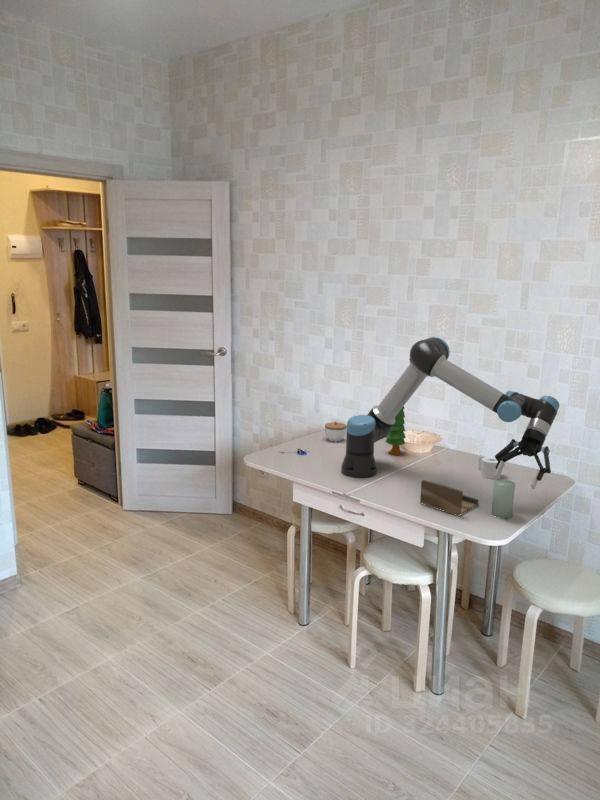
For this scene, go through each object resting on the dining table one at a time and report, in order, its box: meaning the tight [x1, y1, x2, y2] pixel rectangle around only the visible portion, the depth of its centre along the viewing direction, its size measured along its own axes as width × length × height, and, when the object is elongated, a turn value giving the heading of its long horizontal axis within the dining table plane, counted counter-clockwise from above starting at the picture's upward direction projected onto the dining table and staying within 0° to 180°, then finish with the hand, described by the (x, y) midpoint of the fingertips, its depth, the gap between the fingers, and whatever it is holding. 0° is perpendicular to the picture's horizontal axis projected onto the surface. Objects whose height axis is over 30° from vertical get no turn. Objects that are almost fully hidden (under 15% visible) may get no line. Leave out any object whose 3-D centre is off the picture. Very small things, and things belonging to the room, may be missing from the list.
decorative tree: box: [384, 405, 406, 456], centre depth 284 cm, size 10×9×30 cm
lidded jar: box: [324, 421, 347, 443], centre depth 305 cm, size 11×11×9 cm
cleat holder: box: [419, 479, 480, 516], centre depth 224 cm, size 14×16×9 cm
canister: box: [490, 478, 516, 519], centre depth 216 cm, size 7×7×12 cm
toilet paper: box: [477, 456, 502, 480], centre depth 258 cm, size 8×11×7 cm
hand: (513, 482), depth 218 cm, fingers open, 13 cm apart
